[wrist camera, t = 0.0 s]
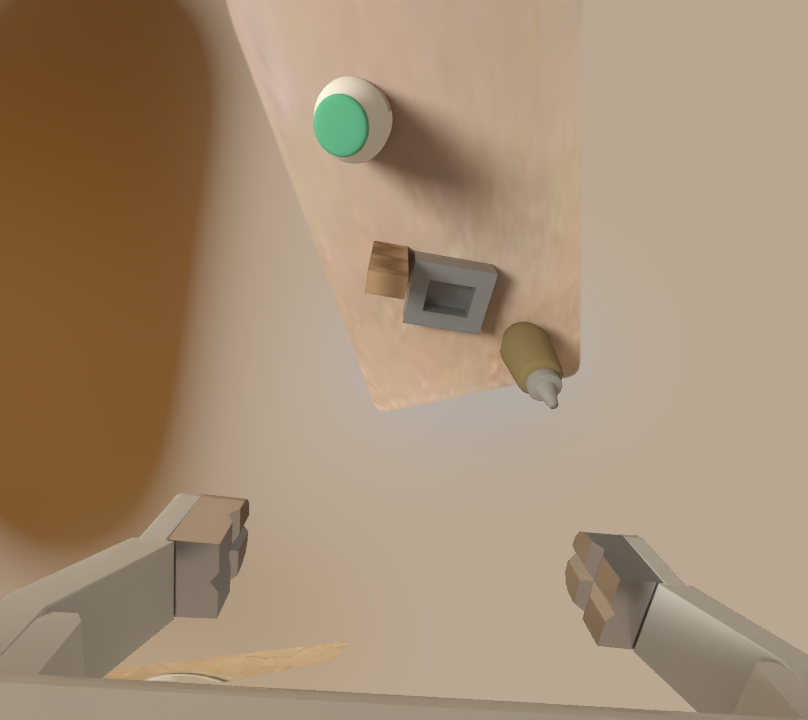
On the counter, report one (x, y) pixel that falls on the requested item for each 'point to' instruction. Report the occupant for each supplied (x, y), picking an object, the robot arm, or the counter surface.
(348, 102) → the milk bottle
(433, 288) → the grey hollow block
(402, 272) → the wooden block
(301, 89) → the counter surface
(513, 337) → the squeeze bottle
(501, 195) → the counter surface
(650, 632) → the robot arm
